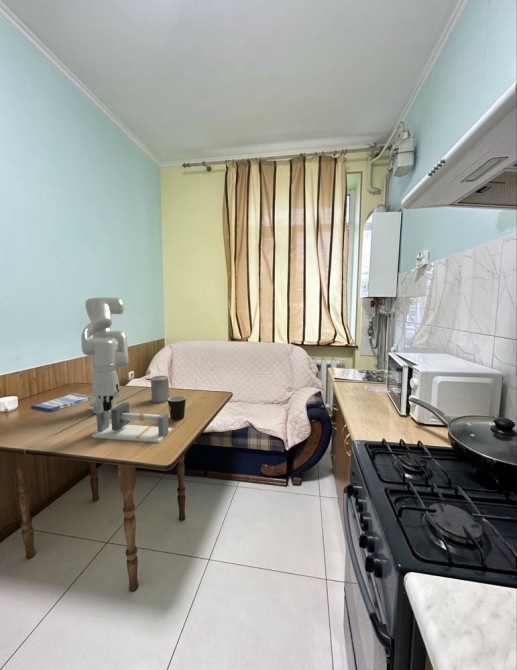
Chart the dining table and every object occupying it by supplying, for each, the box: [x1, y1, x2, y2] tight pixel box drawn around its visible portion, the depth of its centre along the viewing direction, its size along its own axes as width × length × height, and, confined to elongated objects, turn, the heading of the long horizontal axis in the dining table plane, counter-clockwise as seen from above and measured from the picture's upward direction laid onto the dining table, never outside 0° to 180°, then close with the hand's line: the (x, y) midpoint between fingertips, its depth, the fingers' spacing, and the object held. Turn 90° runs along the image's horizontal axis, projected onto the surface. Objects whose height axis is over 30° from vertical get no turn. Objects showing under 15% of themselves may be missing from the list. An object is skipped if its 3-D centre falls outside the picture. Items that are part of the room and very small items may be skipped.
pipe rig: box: [91, 411, 173, 443], centre depth 126 cm, size 30×12×9 cm, turn 82°
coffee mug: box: [167, 395, 187, 422], centre depth 142 cm, size 12×9×10 cm
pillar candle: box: [150, 375, 170, 404], centre depth 170 cm, size 10×10×15 cm
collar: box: [110, 402, 131, 431], centre depth 127 cm, size 2×9×9 cm, turn 172°
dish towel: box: [30, 392, 92, 413], centre depth 165 cm, size 17×24×3 cm
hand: (107, 409), depth 127 cm, fingers closed
